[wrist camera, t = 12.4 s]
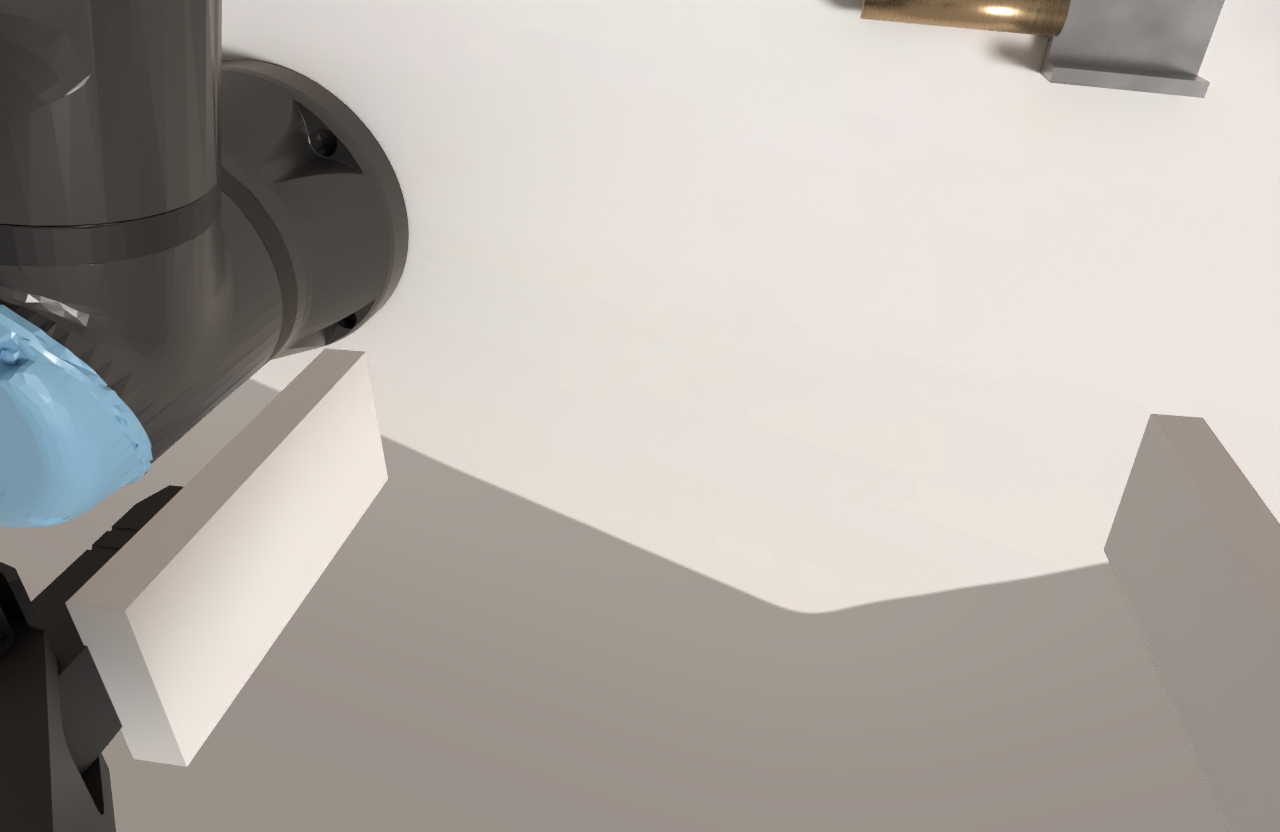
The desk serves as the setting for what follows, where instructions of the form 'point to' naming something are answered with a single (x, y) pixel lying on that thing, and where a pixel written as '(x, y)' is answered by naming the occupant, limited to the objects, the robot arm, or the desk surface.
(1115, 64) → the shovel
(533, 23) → the desk surface
